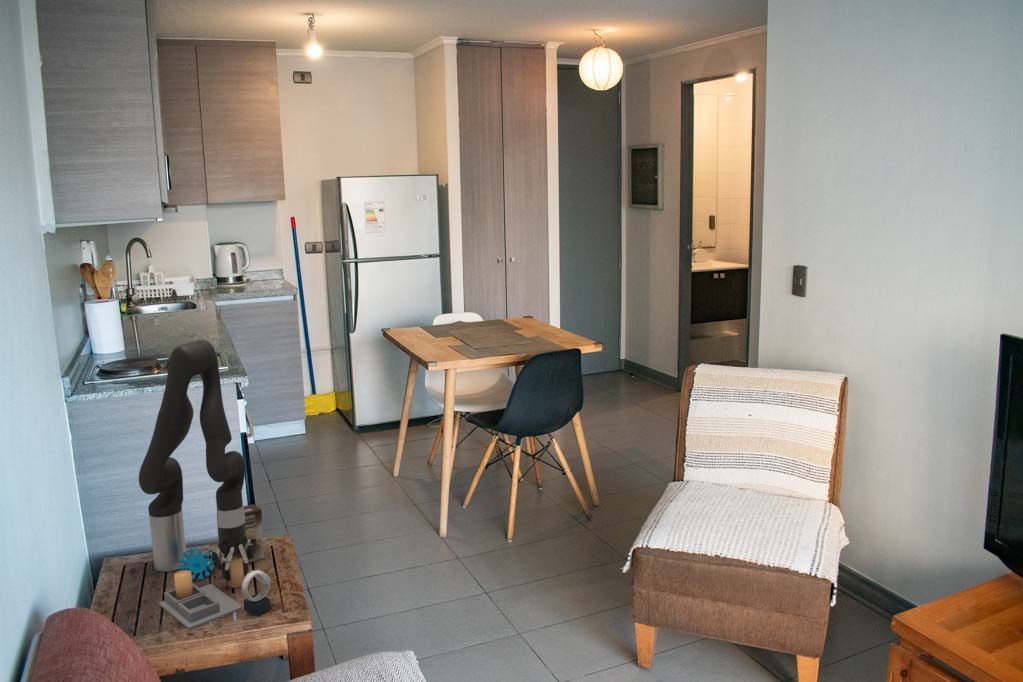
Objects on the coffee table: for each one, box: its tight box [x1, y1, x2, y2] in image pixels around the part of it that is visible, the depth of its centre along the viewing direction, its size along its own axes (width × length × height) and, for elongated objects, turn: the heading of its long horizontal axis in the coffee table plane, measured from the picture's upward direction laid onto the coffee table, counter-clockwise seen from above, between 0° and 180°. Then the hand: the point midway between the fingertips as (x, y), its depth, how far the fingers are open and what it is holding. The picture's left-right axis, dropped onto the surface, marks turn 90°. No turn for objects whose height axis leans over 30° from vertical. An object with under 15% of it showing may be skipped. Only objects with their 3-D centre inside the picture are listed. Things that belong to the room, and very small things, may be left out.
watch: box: [241, 569, 272, 617], centre depth 225 cm, size 6×8×11 cm
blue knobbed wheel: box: [178, 547, 215, 581], centre depth 247 cm, size 11×6×10 cm
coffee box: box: [243, 503, 265, 564], centre depth 255 cm, size 9×6×16 cm
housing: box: [158, 569, 244, 631], centre depth 228 cm, size 19×15×9 cm
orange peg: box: [227, 555, 245, 589], centre depth 240 cm, size 4×4×8 cm
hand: (235, 577), depth 240 cm, fingers closed on orange peg, 4 cm apart
